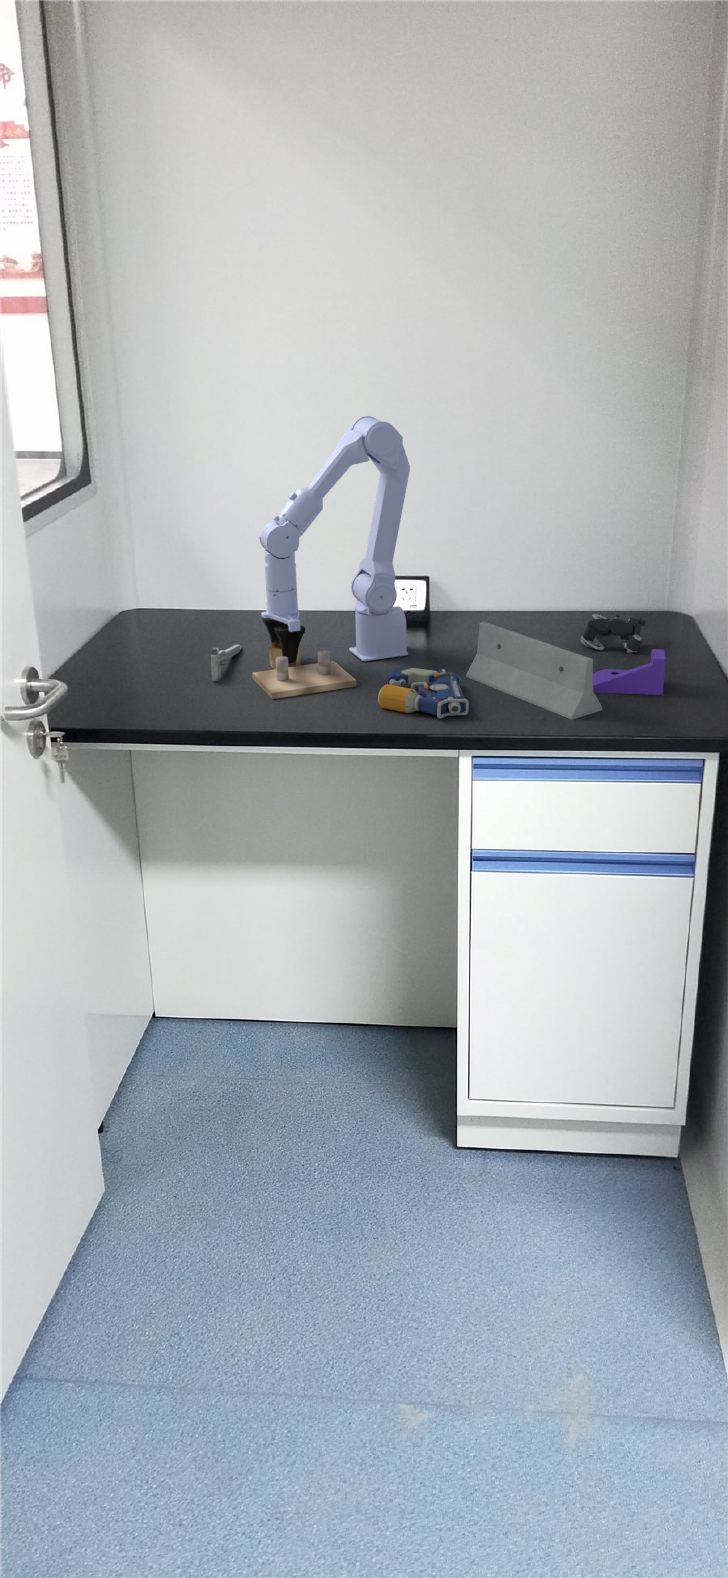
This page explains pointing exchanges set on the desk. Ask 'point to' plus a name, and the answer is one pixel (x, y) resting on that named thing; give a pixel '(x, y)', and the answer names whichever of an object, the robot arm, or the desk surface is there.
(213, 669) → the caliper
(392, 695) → the toy blaster gun
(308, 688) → the wooden peg board
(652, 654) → the bracket
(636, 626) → the bicycle component
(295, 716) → the desk surface
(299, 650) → the ring
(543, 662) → the barrier
